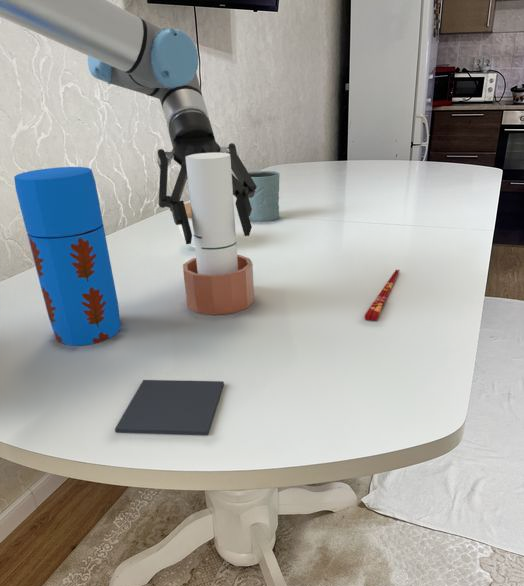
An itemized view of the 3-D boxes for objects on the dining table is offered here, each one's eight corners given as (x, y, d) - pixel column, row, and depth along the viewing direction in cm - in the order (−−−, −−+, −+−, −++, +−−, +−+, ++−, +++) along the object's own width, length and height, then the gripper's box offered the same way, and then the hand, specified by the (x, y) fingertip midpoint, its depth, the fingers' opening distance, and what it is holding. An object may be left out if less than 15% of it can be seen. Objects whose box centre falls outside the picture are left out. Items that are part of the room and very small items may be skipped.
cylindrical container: (222, 290, 100) (210, 151, 88) (248, 300, 95) (239, 154, 83) (192, 302, 95) (176, 157, 84) (218, 312, 91) (204, 160, 79)
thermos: (70, 353, 79) (28, 183, 68) (43, 331, 87) (1, 174, 75) (134, 330, 86) (106, 171, 74) (104, 312, 93) (74, 164, 81)
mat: (115, 432, 61) (114, 428, 61) (143, 382, 71) (143, 379, 71) (207, 435, 60) (207, 431, 60) (224, 384, 70) (223, 381, 69)
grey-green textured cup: (274, 223, 142) (272, 177, 137) (239, 221, 146) (236, 176, 140) (285, 214, 151) (284, 170, 145) (252, 212, 154) (249, 170, 148)
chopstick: (401, 272, 104) (401, 267, 104) (376, 321, 85) (376, 315, 84) (391, 271, 105) (391, 267, 104) (364, 319, 85) (364, 314, 85)
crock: (174, 301, 96) (170, 264, 93) (228, 284, 103) (225, 249, 99) (211, 320, 88) (207, 281, 84) (267, 301, 94) (265, 263, 91)
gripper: (244, 135, 99) (276, 238, 93) (126, 144, 93) (152, 256, 87) (252, 105, 92) (287, 215, 86) (124, 113, 86) (152, 232, 80)
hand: (219, 235), depth 86 cm, fingers open, 9 cm apart
